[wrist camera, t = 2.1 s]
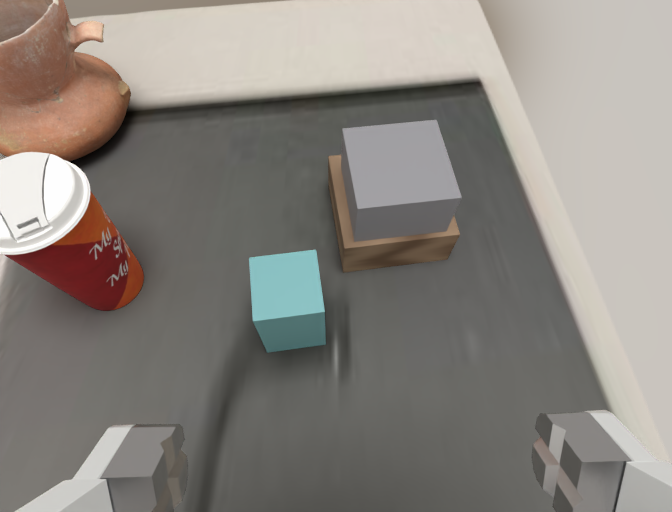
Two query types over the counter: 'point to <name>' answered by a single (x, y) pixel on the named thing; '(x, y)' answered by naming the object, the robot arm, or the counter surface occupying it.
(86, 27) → the ceramic jug
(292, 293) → the teal block
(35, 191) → the paper cup
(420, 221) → the grey top block
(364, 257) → the walnut base block
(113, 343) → the counter surface
